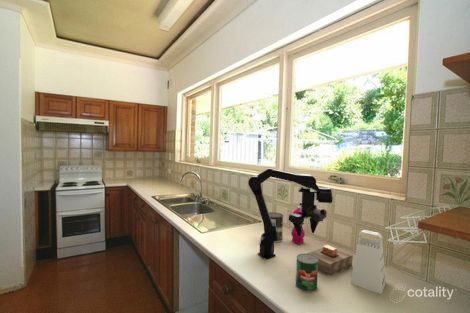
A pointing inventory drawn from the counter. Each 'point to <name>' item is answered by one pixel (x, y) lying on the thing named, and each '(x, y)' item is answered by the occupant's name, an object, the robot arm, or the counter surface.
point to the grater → (369, 264)
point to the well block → (332, 261)
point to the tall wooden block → (330, 251)
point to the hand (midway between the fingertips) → (306, 234)
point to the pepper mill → (296, 238)
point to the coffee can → (278, 224)
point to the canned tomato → (306, 272)
